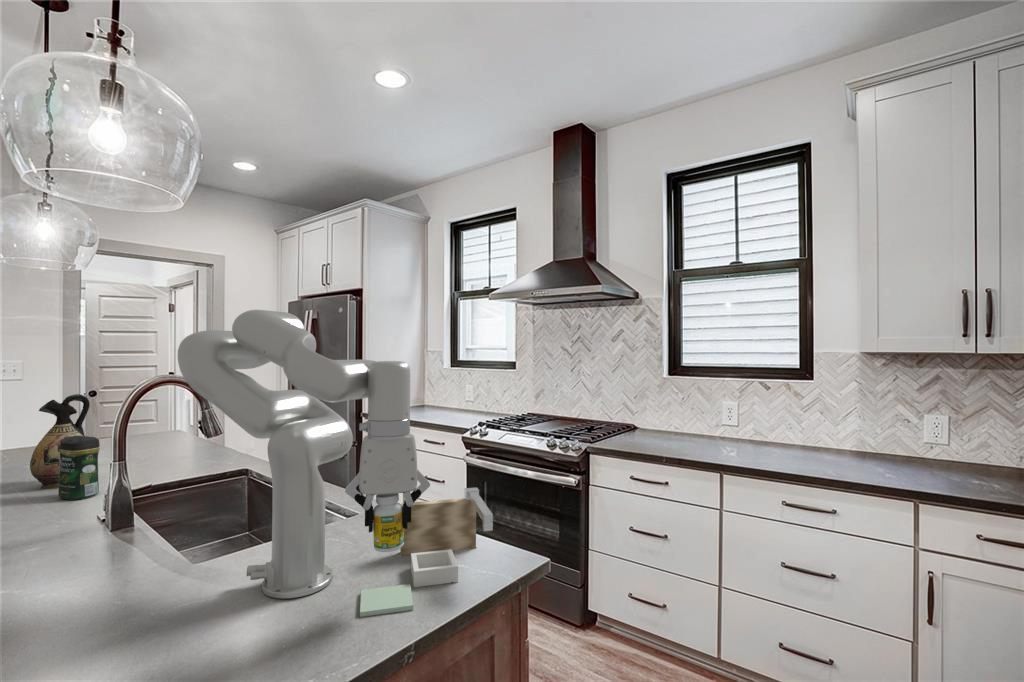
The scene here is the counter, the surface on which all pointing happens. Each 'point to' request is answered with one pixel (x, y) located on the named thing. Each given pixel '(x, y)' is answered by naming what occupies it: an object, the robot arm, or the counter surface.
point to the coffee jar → (78, 467)
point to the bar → (480, 507)
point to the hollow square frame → (433, 568)
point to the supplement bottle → (388, 523)
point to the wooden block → (440, 526)
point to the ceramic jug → (56, 440)
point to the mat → (386, 600)
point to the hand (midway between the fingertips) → (388, 527)
